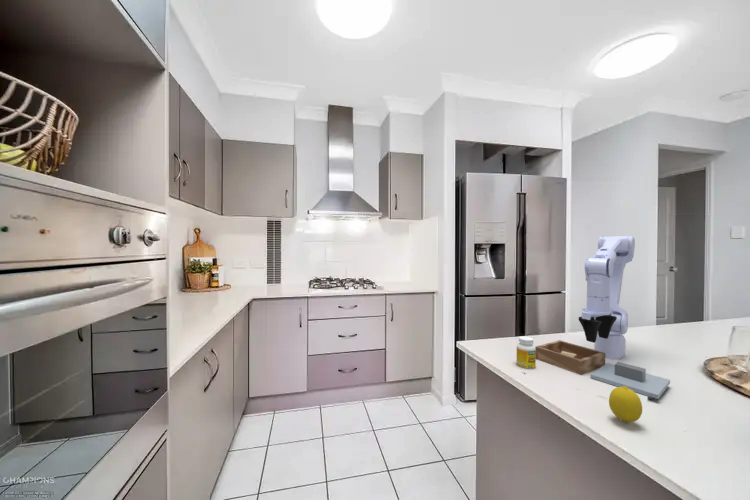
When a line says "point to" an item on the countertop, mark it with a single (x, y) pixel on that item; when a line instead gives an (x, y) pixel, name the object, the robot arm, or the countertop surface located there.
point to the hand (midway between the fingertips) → (597, 339)
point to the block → (569, 354)
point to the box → (580, 365)
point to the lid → (632, 379)
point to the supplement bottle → (526, 353)
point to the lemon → (625, 404)
